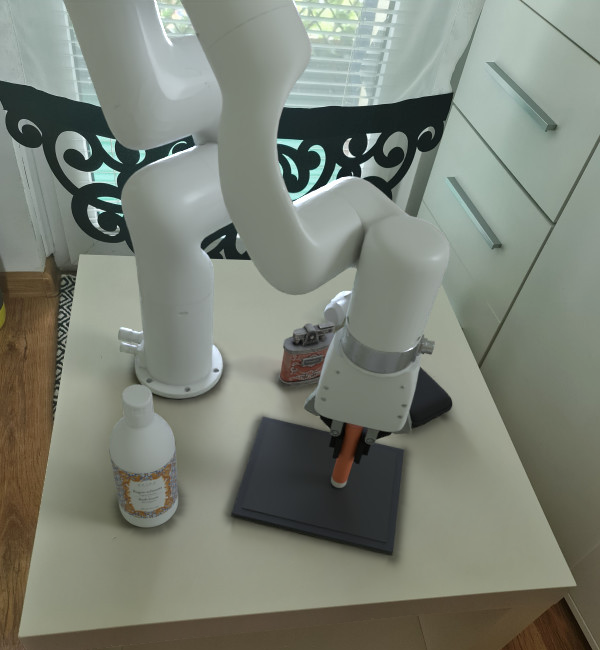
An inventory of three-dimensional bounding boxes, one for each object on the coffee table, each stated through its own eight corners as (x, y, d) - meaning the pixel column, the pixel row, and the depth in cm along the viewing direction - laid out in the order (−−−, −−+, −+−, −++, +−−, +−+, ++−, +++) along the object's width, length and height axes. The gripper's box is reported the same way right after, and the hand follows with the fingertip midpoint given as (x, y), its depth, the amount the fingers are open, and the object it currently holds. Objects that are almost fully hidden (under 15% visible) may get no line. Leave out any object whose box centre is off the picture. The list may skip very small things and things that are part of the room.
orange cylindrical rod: (329, 486, 78) (346, 426, 69) (332, 473, 80) (348, 413, 71) (344, 489, 78) (363, 430, 69) (347, 477, 80) (365, 417, 71)
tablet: (231, 516, 75) (231, 512, 74) (262, 419, 86) (262, 415, 85) (391, 555, 74) (393, 551, 73) (402, 452, 85) (404, 448, 84)
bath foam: (120, 533, 72) (100, 425, 57) (118, 483, 76) (98, 371, 61) (181, 525, 73) (176, 418, 58) (175, 477, 78) (169, 366, 63)
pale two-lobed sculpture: (345, 304, 106) (369, 312, 103) (315, 323, 102) (338, 331, 99) (344, 281, 104) (368, 288, 101) (312, 300, 99) (337, 307, 96)
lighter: (283, 390, 90) (291, 340, 82) (275, 374, 92) (281, 324, 84) (332, 378, 93) (344, 329, 85) (323, 363, 94) (334, 313, 87)
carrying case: (338, 373, 93) (401, 440, 86) (342, 359, 91) (406, 427, 84) (391, 350, 98) (454, 412, 91) (396, 336, 96) (461, 399, 89)
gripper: (460, 333, 63) (414, 443, 76) (308, 299, 63) (289, 414, 77) (458, 384, 58) (409, 492, 71) (293, 347, 58) (276, 461, 72)
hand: (347, 451), depth 74 cm, fingers closed on orange cylindrical rod, 2 cm apart
